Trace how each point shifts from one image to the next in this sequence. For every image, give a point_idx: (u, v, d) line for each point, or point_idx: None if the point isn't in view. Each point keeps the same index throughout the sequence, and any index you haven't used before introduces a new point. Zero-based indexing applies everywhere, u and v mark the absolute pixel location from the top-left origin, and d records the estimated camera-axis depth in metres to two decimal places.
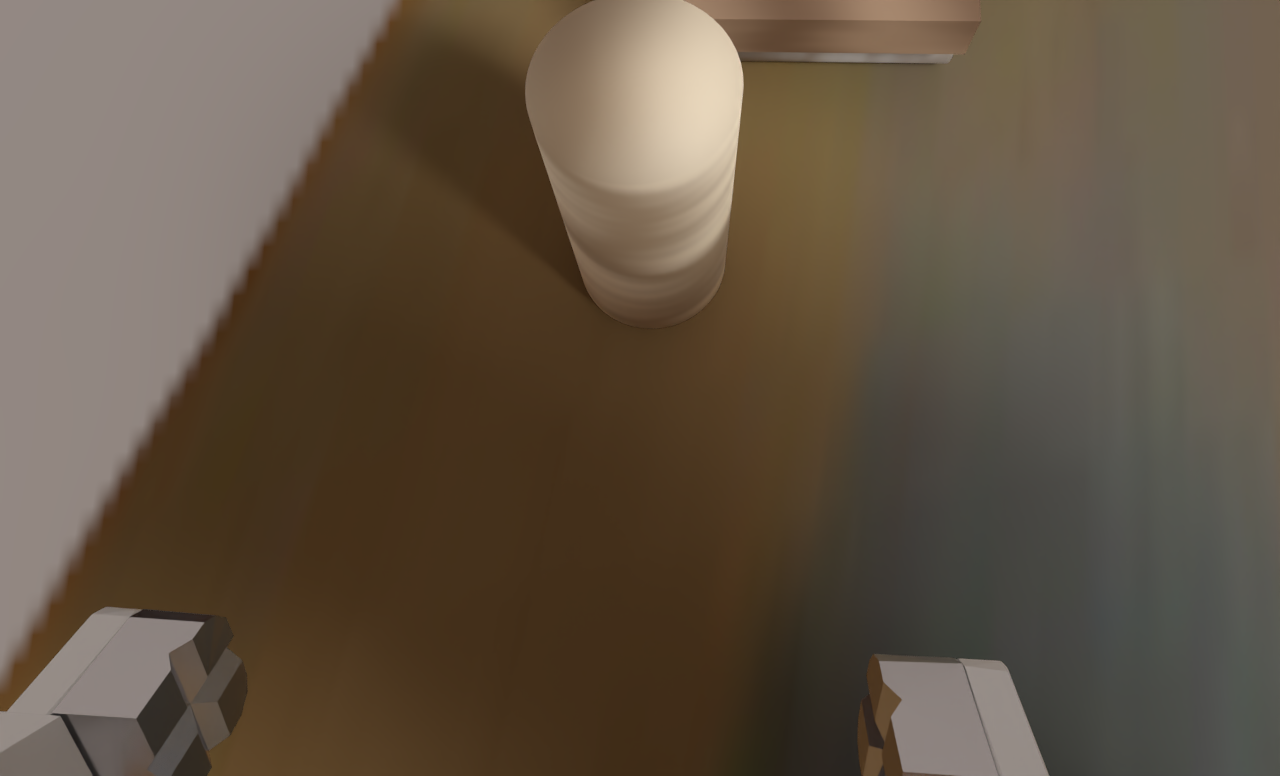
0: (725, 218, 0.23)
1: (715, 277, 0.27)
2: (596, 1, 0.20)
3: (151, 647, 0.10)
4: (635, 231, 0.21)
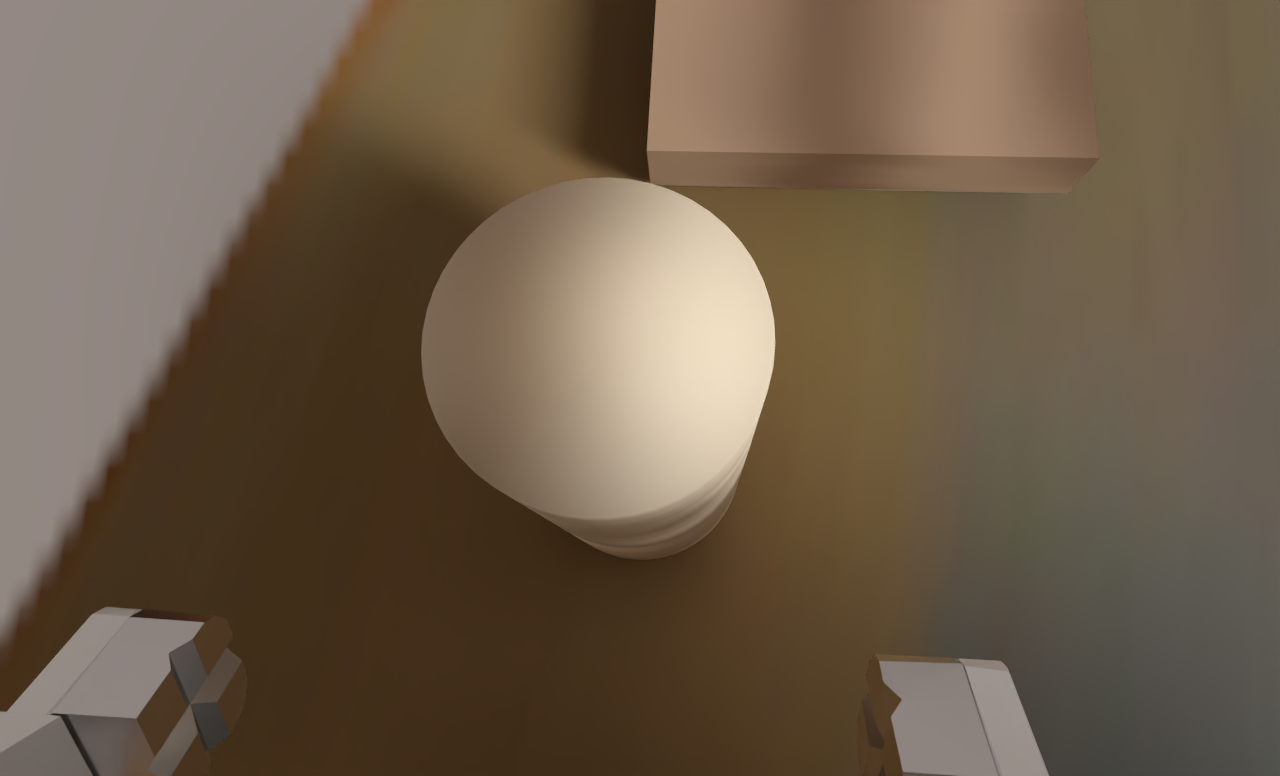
0: (742, 467, 0.16)
1: (726, 506, 0.19)
2: (538, 191, 0.12)
3: (151, 647, 0.10)
4: (604, 532, 0.13)
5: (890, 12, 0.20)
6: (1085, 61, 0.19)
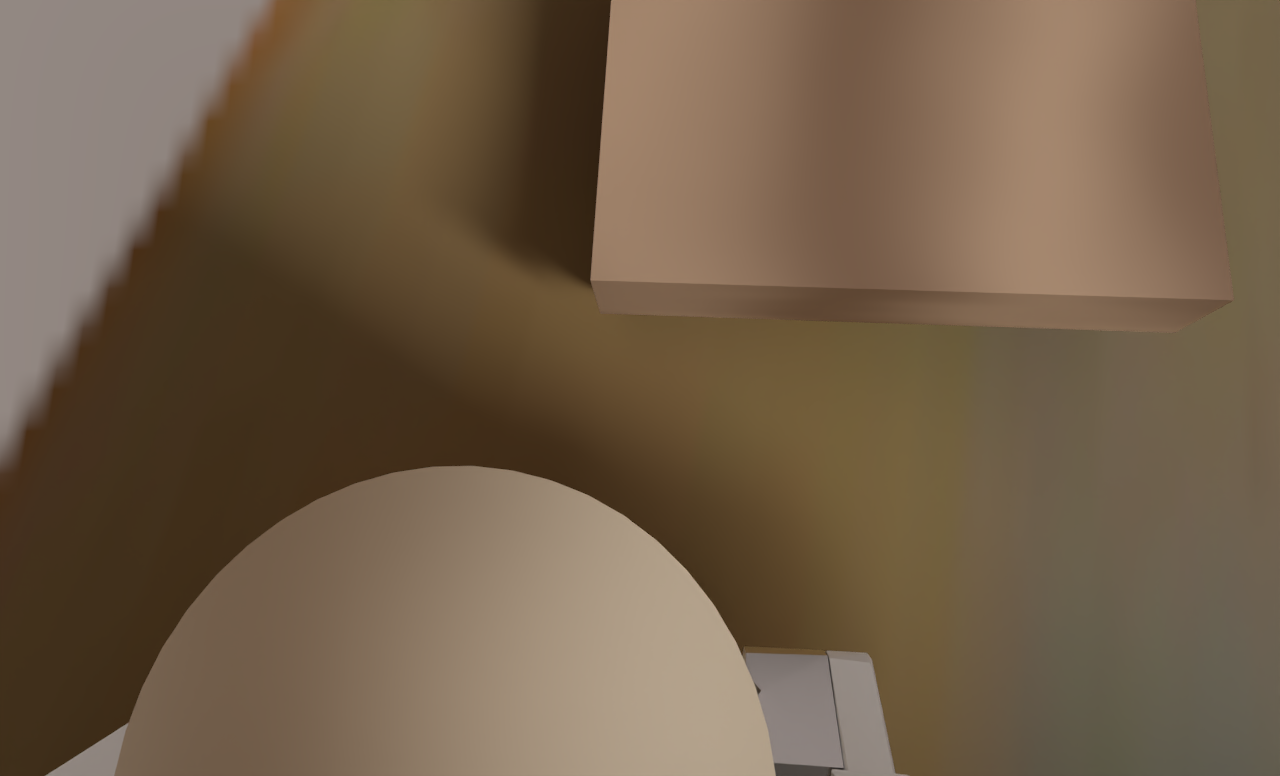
0: None
1: None
2: (348, 489, 0.07)
3: None
4: None
5: (932, 82, 0.14)
6: (1208, 157, 0.13)
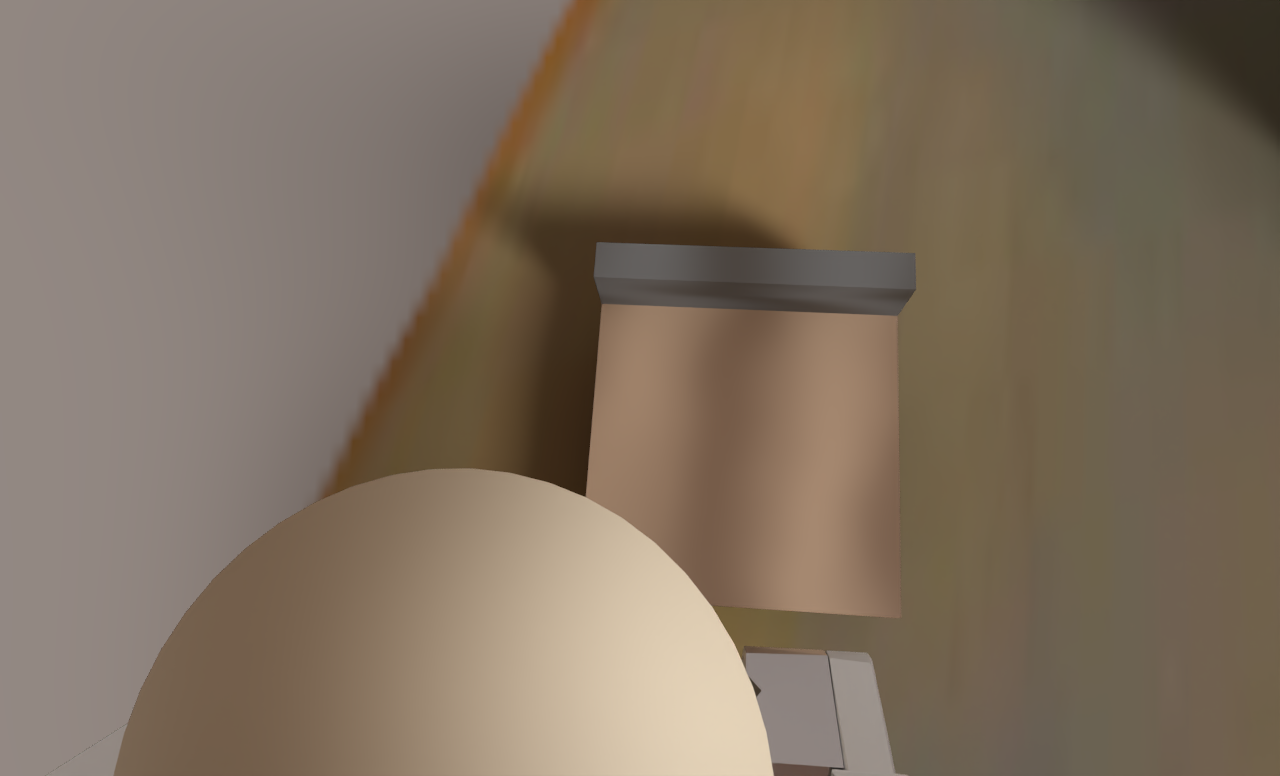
0: None
1: None
2: (347, 491, 0.07)
3: None
4: None
5: (758, 487, 0.27)
6: (896, 536, 0.26)
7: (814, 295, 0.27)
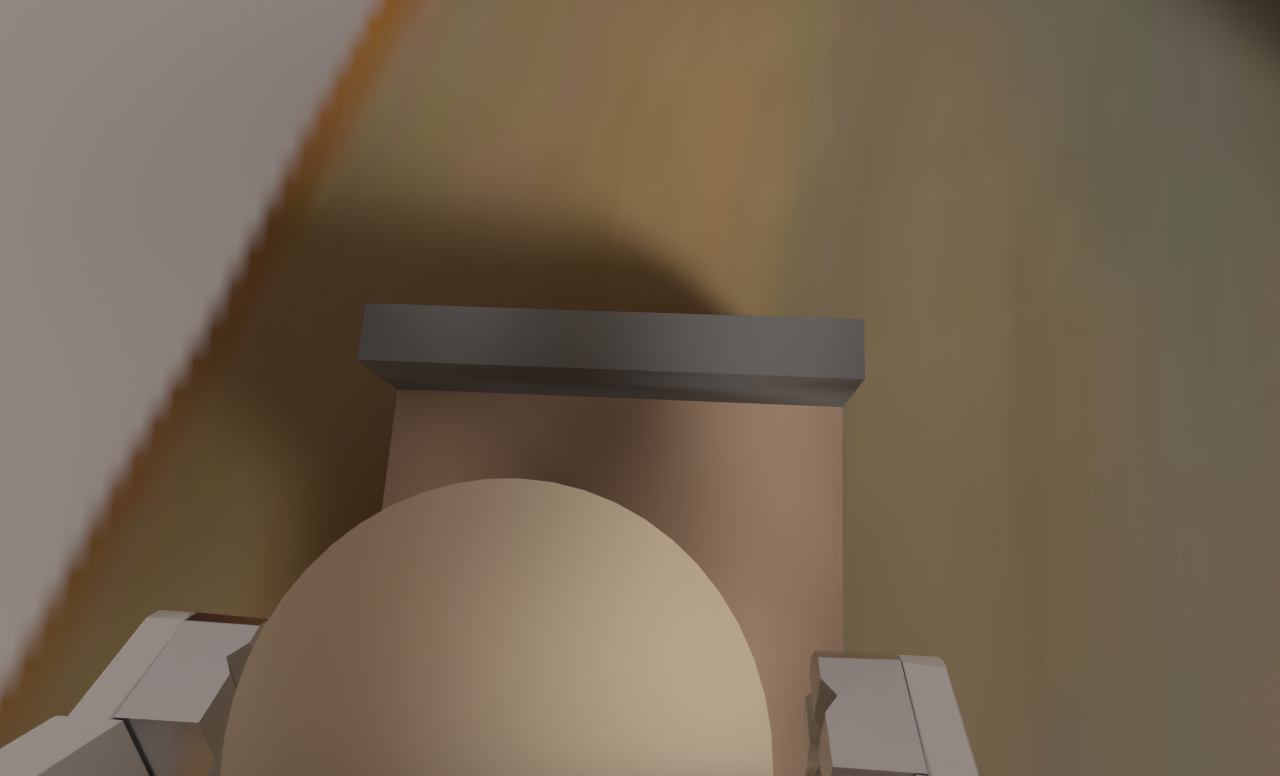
0: None
1: None
2: (415, 496, 0.08)
3: (208, 651, 0.10)
4: None
5: None
6: None
7: (708, 383, 0.17)
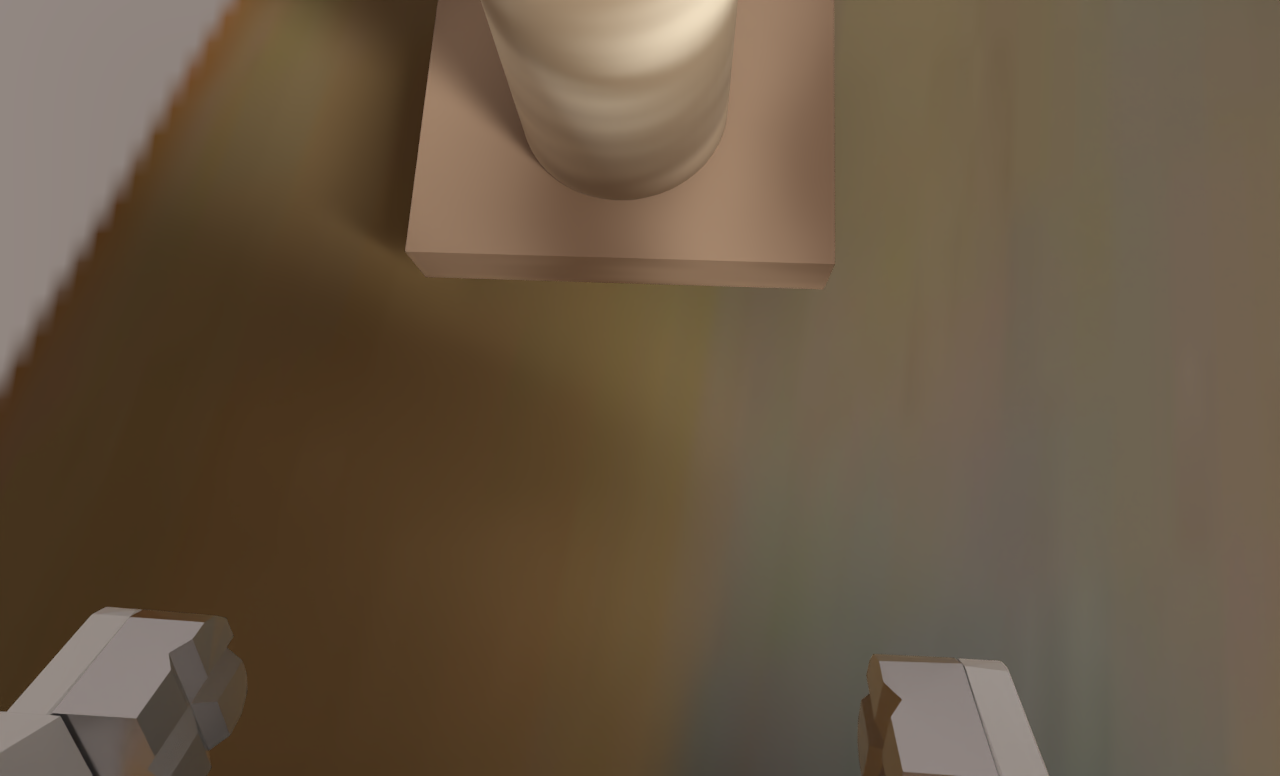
0: None
1: (714, 114, 0.18)
2: None
3: (151, 647, 0.10)
4: None
5: None
6: (829, 166, 0.20)
7: None
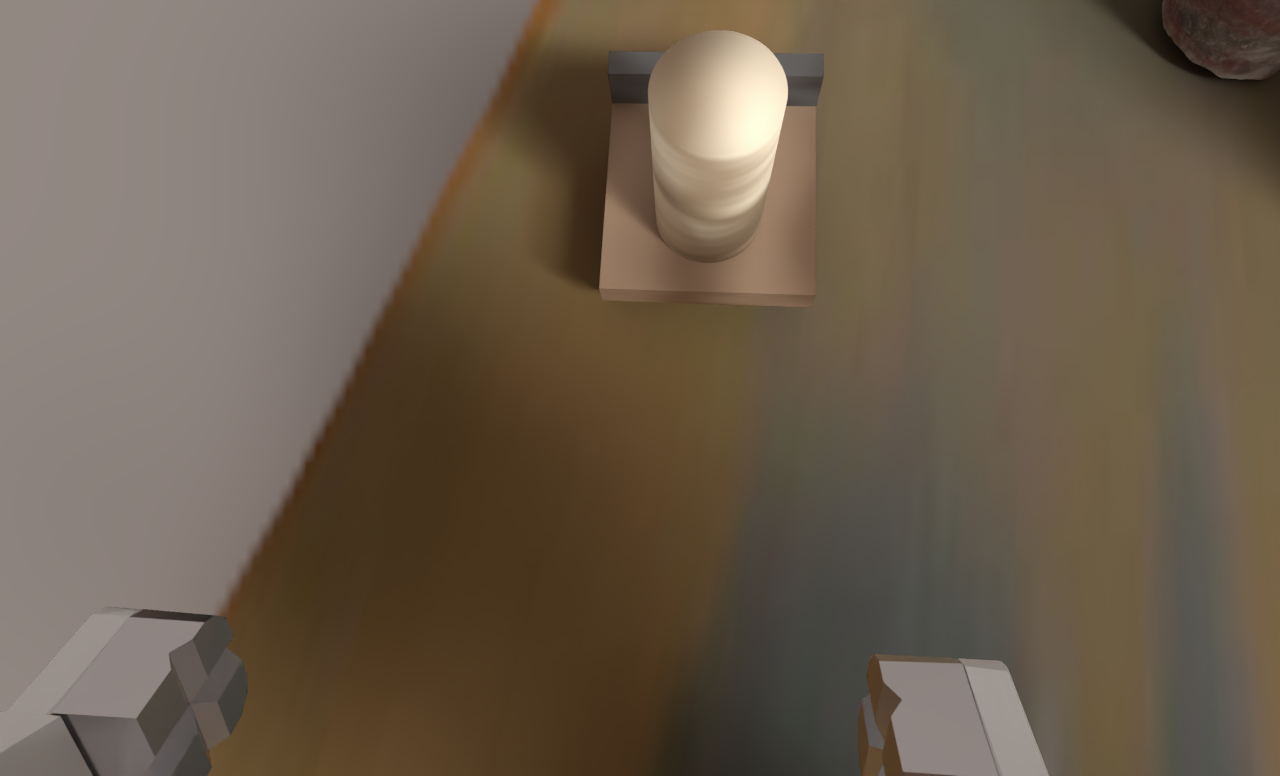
0: (769, 179, 0.34)
1: (757, 223, 0.37)
2: (689, 36, 0.30)
3: (151, 647, 0.10)
4: (715, 186, 0.32)
5: None
6: (813, 245, 0.39)
7: None
